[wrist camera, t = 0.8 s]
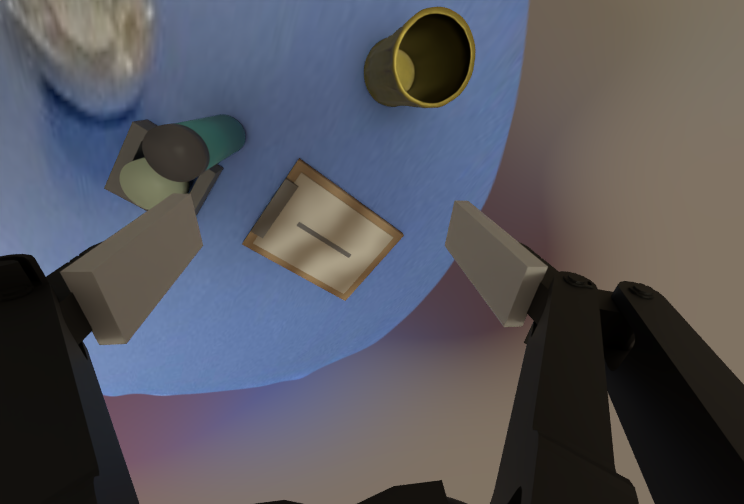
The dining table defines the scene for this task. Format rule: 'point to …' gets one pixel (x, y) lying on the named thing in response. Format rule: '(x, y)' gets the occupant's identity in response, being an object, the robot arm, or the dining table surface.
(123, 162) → the button frame
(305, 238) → the drawing board
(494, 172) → the dining table surface
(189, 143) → the marker
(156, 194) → the button
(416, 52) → the vase
